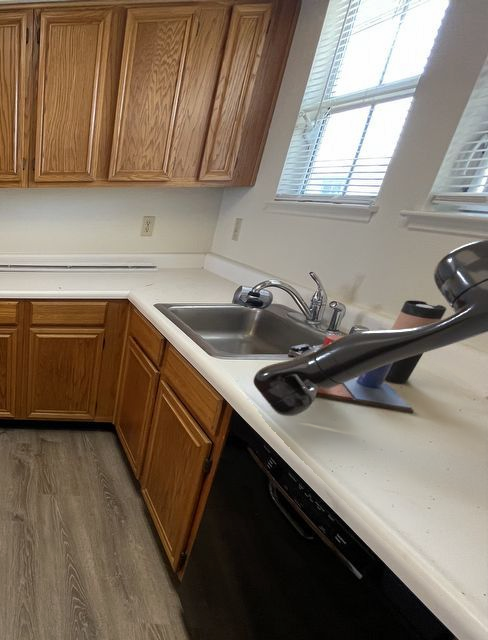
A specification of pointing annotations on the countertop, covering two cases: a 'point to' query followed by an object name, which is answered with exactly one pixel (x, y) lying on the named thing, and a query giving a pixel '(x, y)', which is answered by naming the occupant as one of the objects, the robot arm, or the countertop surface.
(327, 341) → the cylinder
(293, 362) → the robot arm
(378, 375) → the cylinder
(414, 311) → the travel mug
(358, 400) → the sorting board
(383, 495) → the countertop surface
